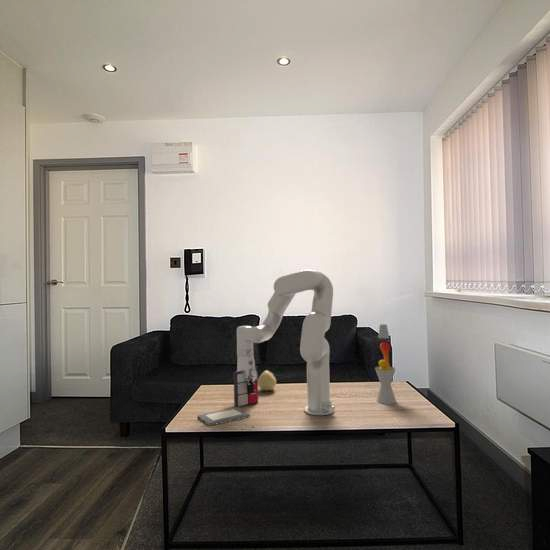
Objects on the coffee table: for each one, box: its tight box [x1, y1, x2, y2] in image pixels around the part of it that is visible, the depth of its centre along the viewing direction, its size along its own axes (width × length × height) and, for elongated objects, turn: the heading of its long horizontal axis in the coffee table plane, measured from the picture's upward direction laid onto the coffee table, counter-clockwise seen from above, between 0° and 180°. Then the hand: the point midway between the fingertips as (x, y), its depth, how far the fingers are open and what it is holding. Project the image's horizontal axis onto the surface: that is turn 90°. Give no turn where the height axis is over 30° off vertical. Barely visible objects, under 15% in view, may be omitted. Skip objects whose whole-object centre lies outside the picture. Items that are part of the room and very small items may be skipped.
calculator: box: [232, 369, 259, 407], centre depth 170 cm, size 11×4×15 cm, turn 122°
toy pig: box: [258, 369, 277, 391], centre depth 192 cm, size 10×12×11 cm
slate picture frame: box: [197, 406, 251, 426], centre depth 152 cm, size 12×18×1 cm, turn 123°
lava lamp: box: [374, 323, 397, 405], centre depth 169 cm, size 9×9×35 cm
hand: (246, 391), depth 170 cm, fingers open, 7 cm apart
